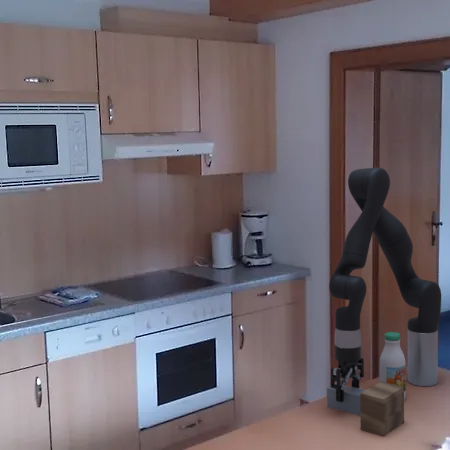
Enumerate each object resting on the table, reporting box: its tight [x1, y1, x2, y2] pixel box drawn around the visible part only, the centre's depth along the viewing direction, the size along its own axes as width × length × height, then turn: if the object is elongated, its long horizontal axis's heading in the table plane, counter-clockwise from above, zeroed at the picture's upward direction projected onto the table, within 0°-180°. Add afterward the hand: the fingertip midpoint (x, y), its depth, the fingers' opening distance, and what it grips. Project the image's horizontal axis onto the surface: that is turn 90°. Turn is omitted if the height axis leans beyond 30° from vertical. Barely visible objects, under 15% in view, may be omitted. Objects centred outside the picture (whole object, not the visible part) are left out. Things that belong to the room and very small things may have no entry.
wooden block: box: [359, 381, 405, 437], centre depth 186 cm, size 11×7×10 cm, turn 138°
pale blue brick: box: [326, 383, 366, 416], centre depth 199 cm, size 5×12×6 cm, turn 50°
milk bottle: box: [379, 331, 407, 401], centre depth 205 cm, size 8×8×20 cm
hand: (347, 397), depth 199 cm, fingers open, 8 cm apart
